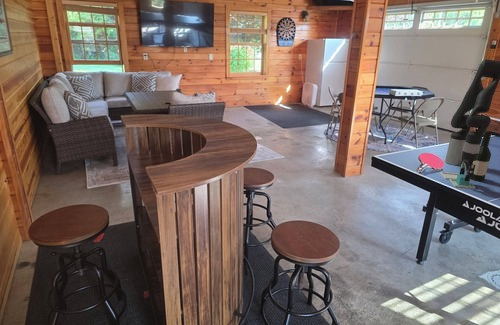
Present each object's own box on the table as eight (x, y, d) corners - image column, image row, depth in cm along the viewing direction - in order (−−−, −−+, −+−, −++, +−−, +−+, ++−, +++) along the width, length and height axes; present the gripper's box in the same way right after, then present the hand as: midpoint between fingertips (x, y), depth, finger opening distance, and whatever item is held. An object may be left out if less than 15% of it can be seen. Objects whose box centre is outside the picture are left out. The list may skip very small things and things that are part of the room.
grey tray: (440, 173, 202) (440, 171, 202) (458, 175, 200) (458, 173, 199) (445, 179, 193) (445, 177, 193) (463, 181, 191) (464, 179, 190)
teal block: (455, 182, 189) (457, 174, 187) (465, 183, 187) (467, 175, 186) (458, 185, 184) (460, 177, 182) (468, 186, 183) (470, 178, 181)
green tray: (449, 180, 192) (449, 178, 191) (468, 182, 189) (469, 180, 189) (454, 187, 182) (455, 185, 182) (474, 189, 180) (475, 187, 180)
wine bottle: (477, 176, 198) (490, 128, 188) (487, 182, 191) (501, 132, 180) (464, 176, 198) (476, 128, 188) (473, 182, 190) (486, 132, 180)
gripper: (458, 146, 186) (452, 173, 192) (467, 154, 173) (460, 182, 179) (473, 148, 185) (466, 174, 190) (483, 155, 172) (476, 183, 177)
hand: (464, 178), depth 184 cm, fingers open, 8 cm apart
